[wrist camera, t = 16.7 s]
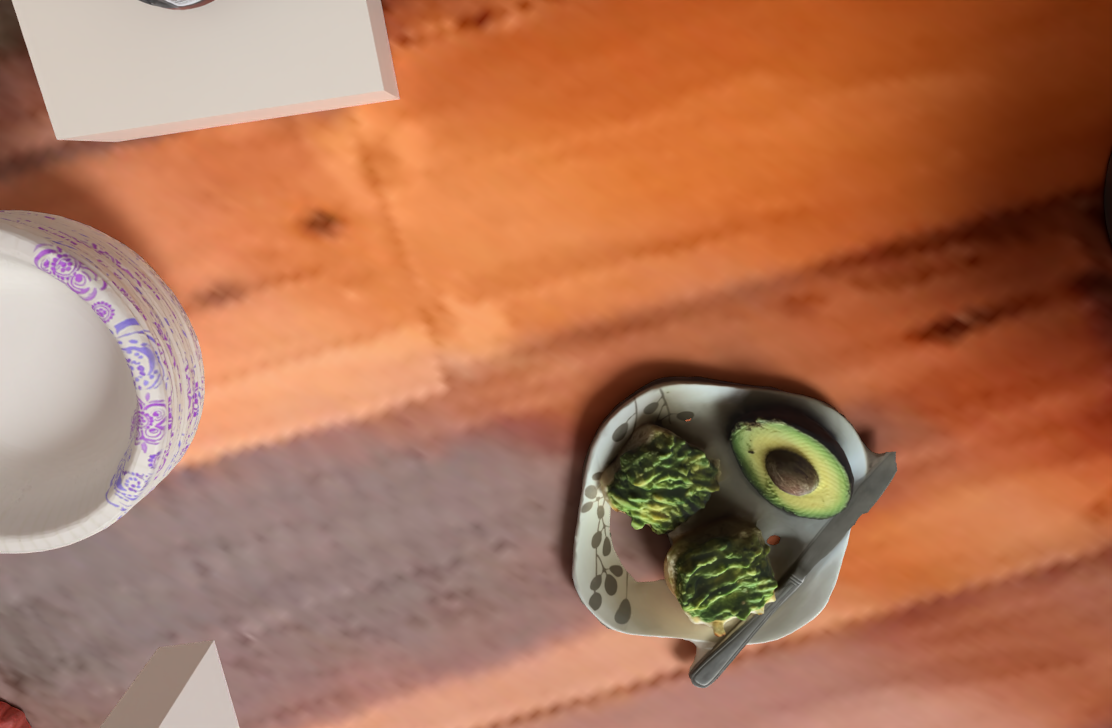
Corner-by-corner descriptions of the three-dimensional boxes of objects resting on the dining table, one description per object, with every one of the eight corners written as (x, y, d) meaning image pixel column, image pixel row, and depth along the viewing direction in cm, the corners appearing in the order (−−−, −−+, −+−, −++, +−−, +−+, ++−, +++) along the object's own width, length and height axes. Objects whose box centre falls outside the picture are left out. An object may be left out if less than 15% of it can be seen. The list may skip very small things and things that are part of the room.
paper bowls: (-140, 284, 37) (-307, 318, 30) (122, 152, 36) (21, 152, 29) (44, 527, 41) (-60, 611, 34) (284, 414, 40) (232, 474, 33)
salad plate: (811, 680, 48) (843, 734, 44) (542, 651, 46) (546, 704, 42) (899, 403, 43) (944, 431, 39) (601, 357, 41) (613, 381, 37)
